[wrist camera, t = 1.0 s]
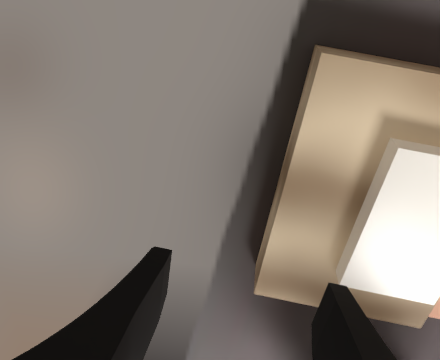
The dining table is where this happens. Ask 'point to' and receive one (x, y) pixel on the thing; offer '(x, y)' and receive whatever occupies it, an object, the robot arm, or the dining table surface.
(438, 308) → the mat
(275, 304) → the dining table surface
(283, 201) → the board
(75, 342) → the robot arm
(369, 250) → the card
